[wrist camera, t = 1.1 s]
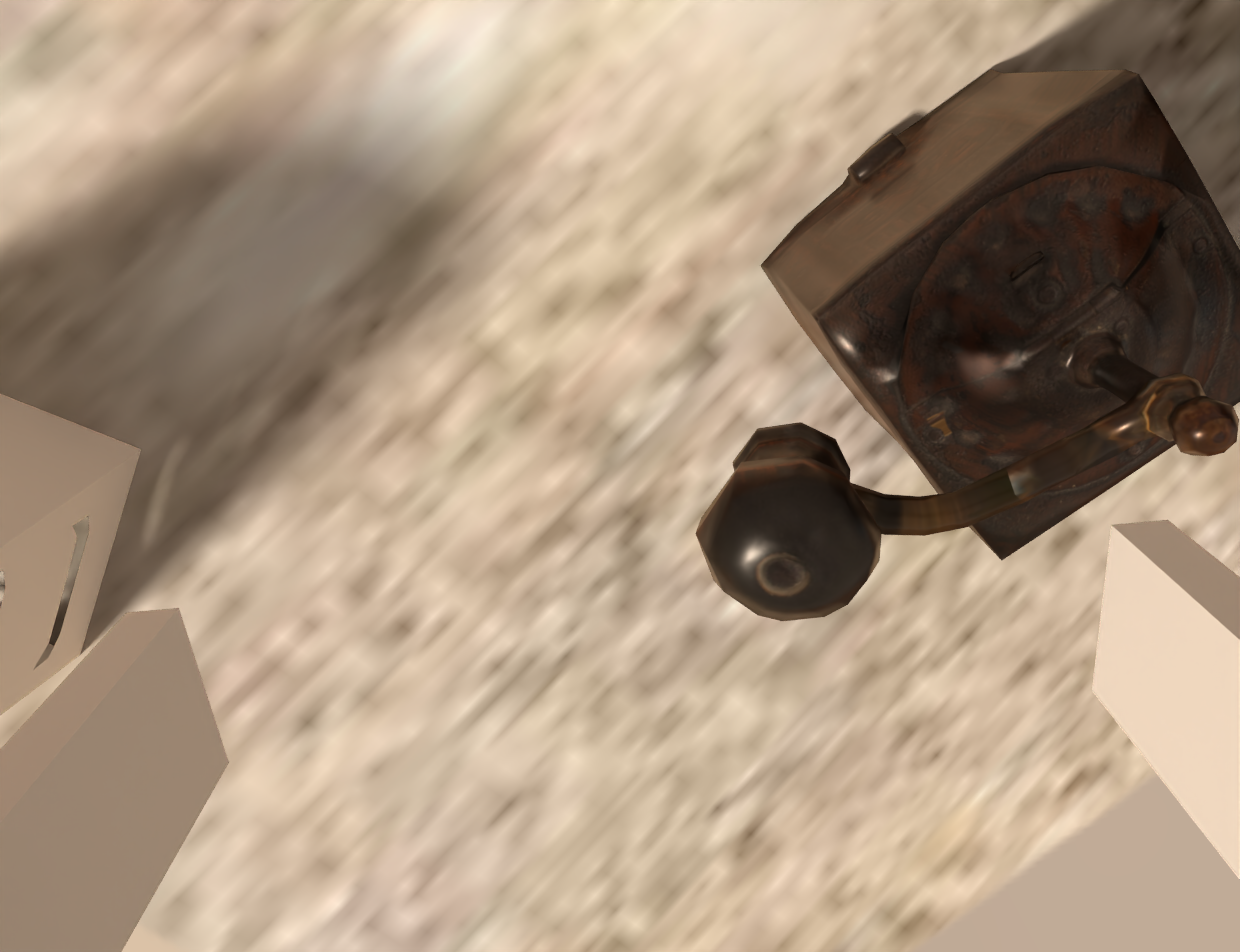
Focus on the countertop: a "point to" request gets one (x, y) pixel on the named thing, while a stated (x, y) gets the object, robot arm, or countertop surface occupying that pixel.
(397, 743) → the countertop surface
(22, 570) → the grater
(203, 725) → the robot arm
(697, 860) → the countertop surface
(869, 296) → the manual coffee grinder
